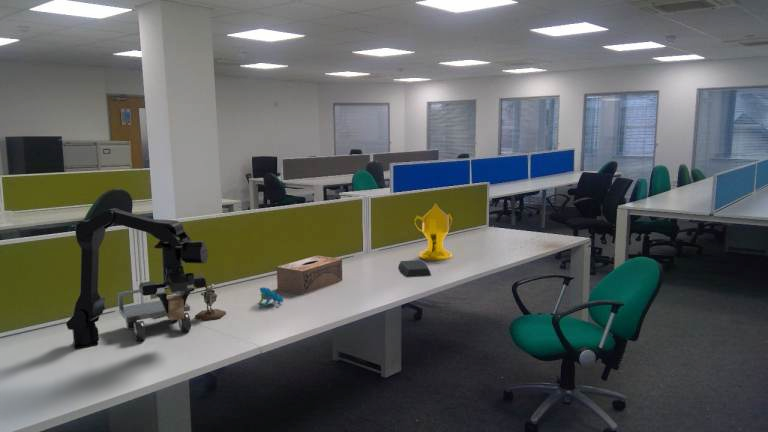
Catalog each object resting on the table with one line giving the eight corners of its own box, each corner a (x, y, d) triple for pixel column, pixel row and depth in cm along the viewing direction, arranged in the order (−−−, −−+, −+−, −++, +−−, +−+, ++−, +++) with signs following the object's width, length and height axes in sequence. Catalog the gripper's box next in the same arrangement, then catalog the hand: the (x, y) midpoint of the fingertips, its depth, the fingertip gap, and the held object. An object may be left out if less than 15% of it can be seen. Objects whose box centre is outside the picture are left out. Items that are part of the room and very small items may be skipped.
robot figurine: (190, 316, 204) (188, 284, 202) (211, 309, 212) (210, 278, 210) (208, 322, 198) (206, 289, 196) (230, 315, 205) (229, 283, 203)
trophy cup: (406, 256, 300) (405, 203, 295) (442, 250, 312) (443, 200, 308) (425, 262, 285) (425, 207, 281) (463, 256, 297) (463, 203, 293)
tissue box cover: (317, 276, 260) (317, 255, 258) (342, 281, 252) (341, 259, 250) (277, 289, 239) (276, 266, 237) (302, 295, 231) (302, 271, 229)
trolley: (132, 344, 177) (129, 306, 175) (120, 327, 193) (117, 292, 191) (196, 331, 188) (194, 295, 187) (180, 316, 204) (178, 283, 203)
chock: (170, 320, 171) (169, 301, 170) (165, 315, 176) (164, 296, 175) (184, 318, 173) (183, 299, 172) (178, 313, 178) (178, 294, 177)
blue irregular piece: (289, 300, 216) (271, 286, 211) (281, 313, 214) (262, 299, 208) (273, 298, 224) (255, 284, 219) (265, 311, 222) (247, 297, 216)
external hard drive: (423, 266, 278) (422, 258, 277) (432, 276, 259) (432, 267, 258) (396, 268, 275) (396, 259, 275) (404, 278, 257) (404, 269, 256)
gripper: (146, 272, 160) (148, 324, 162) (211, 263, 171) (213, 313, 173) (137, 264, 169) (140, 314, 171) (199, 257, 180) (201, 304, 182)
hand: (174, 311), depth 174 cm, fingers closed on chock, 4 cm apart
